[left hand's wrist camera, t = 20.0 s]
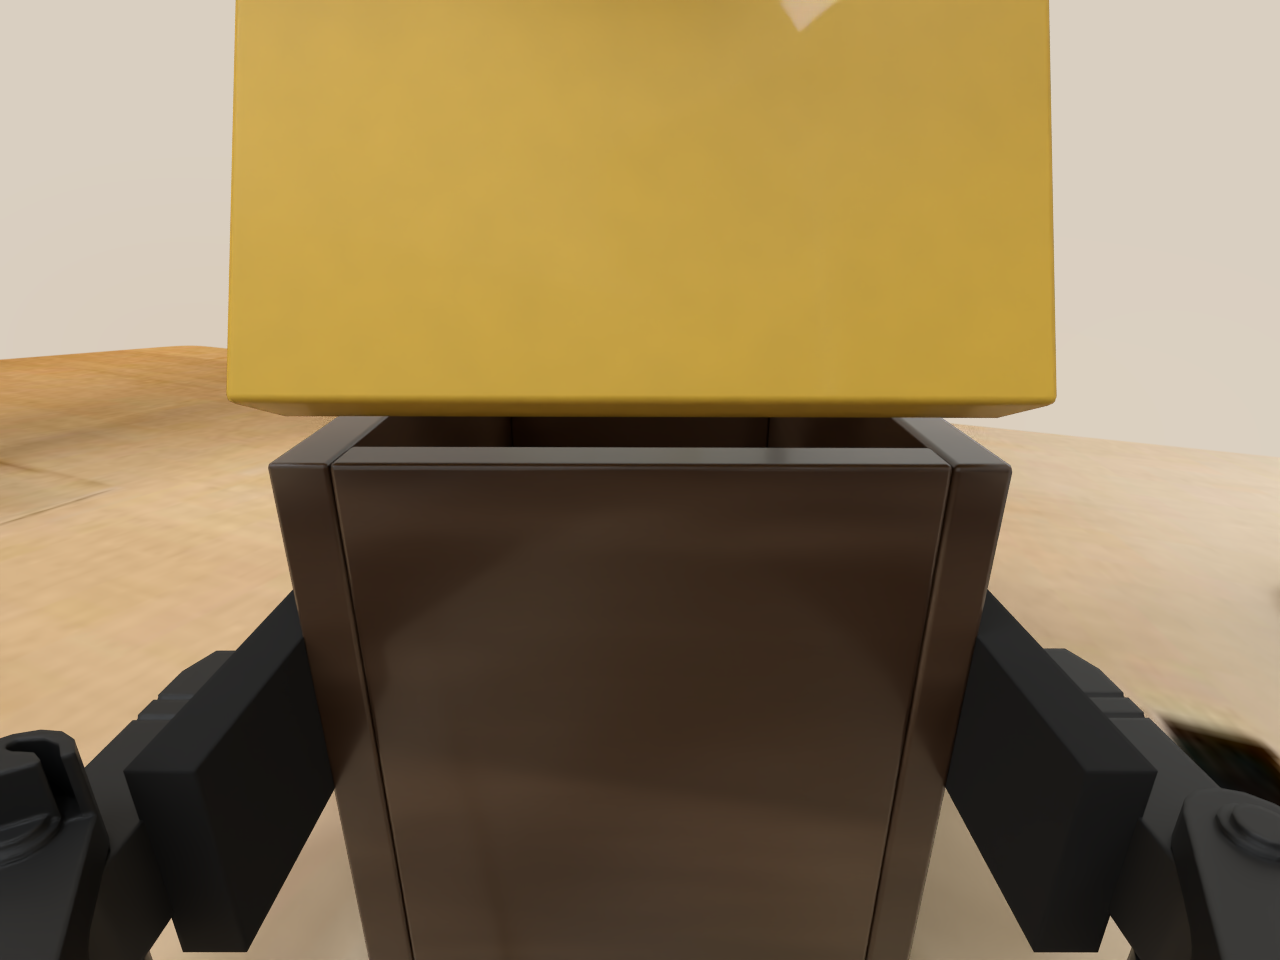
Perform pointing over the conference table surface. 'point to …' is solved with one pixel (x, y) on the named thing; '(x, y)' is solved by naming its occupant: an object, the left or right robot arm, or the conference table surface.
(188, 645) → the conference table surface
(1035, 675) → the left robot arm
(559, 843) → the chest
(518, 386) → the lid
